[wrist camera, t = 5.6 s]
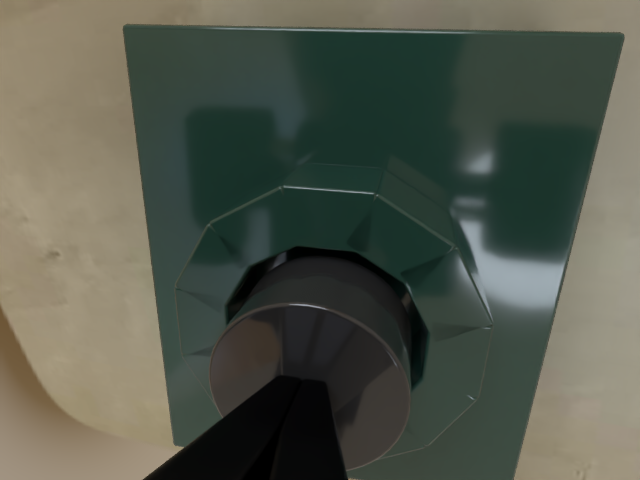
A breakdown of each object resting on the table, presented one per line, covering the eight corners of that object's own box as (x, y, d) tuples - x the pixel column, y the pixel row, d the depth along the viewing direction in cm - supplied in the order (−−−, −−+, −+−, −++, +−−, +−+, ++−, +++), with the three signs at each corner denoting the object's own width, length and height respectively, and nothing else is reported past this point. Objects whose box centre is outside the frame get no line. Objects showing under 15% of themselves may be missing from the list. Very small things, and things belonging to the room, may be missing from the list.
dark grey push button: (403, 411, 10) (400, 490, 8) (248, 387, 11) (213, 455, 9) (420, 263, 9) (423, 318, 7) (243, 245, 9) (199, 291, 7)
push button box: (487, 407, 16) (523, 584, 11) (221, 368, 18) (136, 503, 12) (562, 41, 12) (689, 24, 6) (200, 33, 13) (52, 15, 8)
